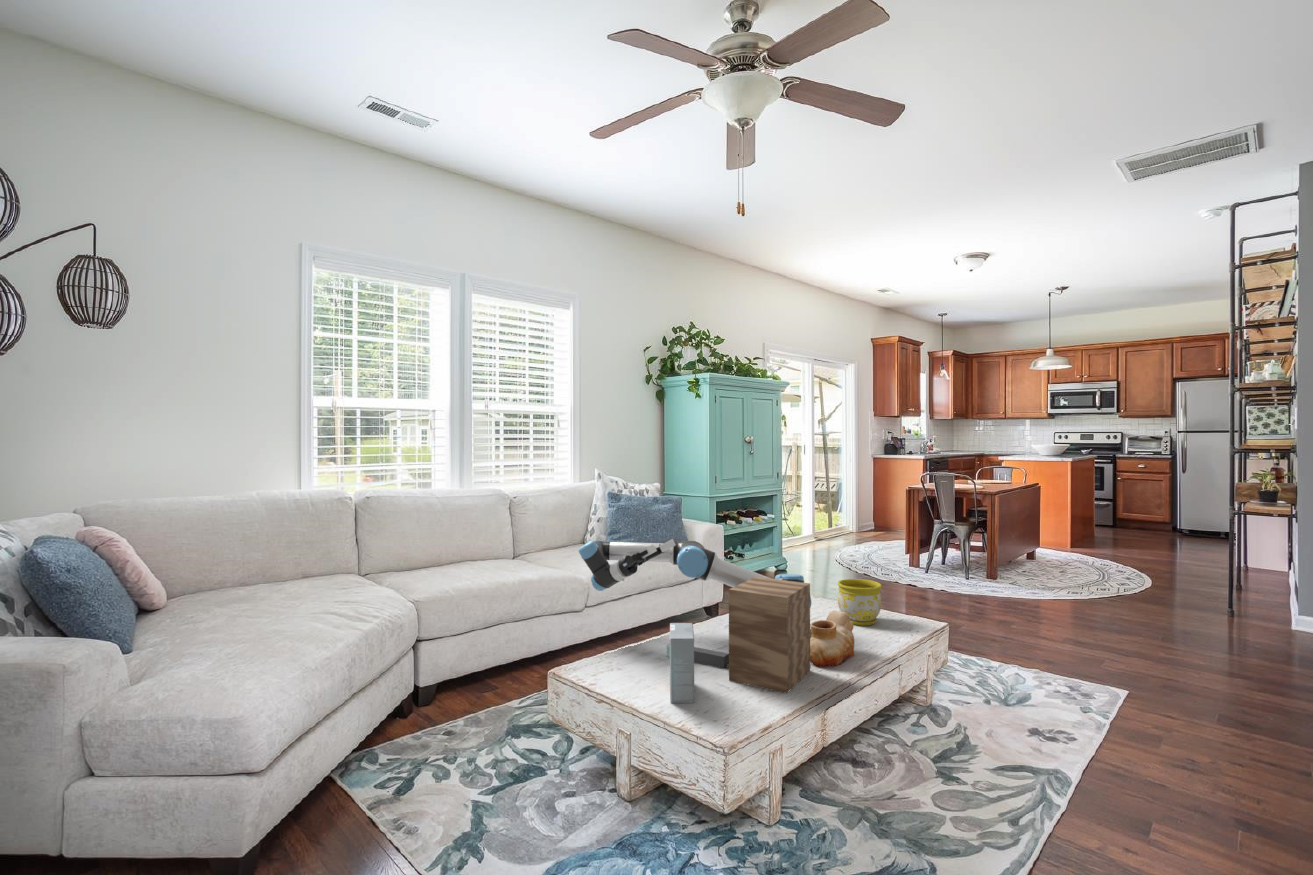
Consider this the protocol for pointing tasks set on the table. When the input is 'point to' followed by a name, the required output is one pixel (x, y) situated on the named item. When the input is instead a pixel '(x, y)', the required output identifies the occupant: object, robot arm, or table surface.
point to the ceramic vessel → (831, 640)
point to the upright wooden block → (769, 633)
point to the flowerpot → (860, 600)
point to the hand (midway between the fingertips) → (664, 544)
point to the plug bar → (708, 657)
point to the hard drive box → (681, 663)
